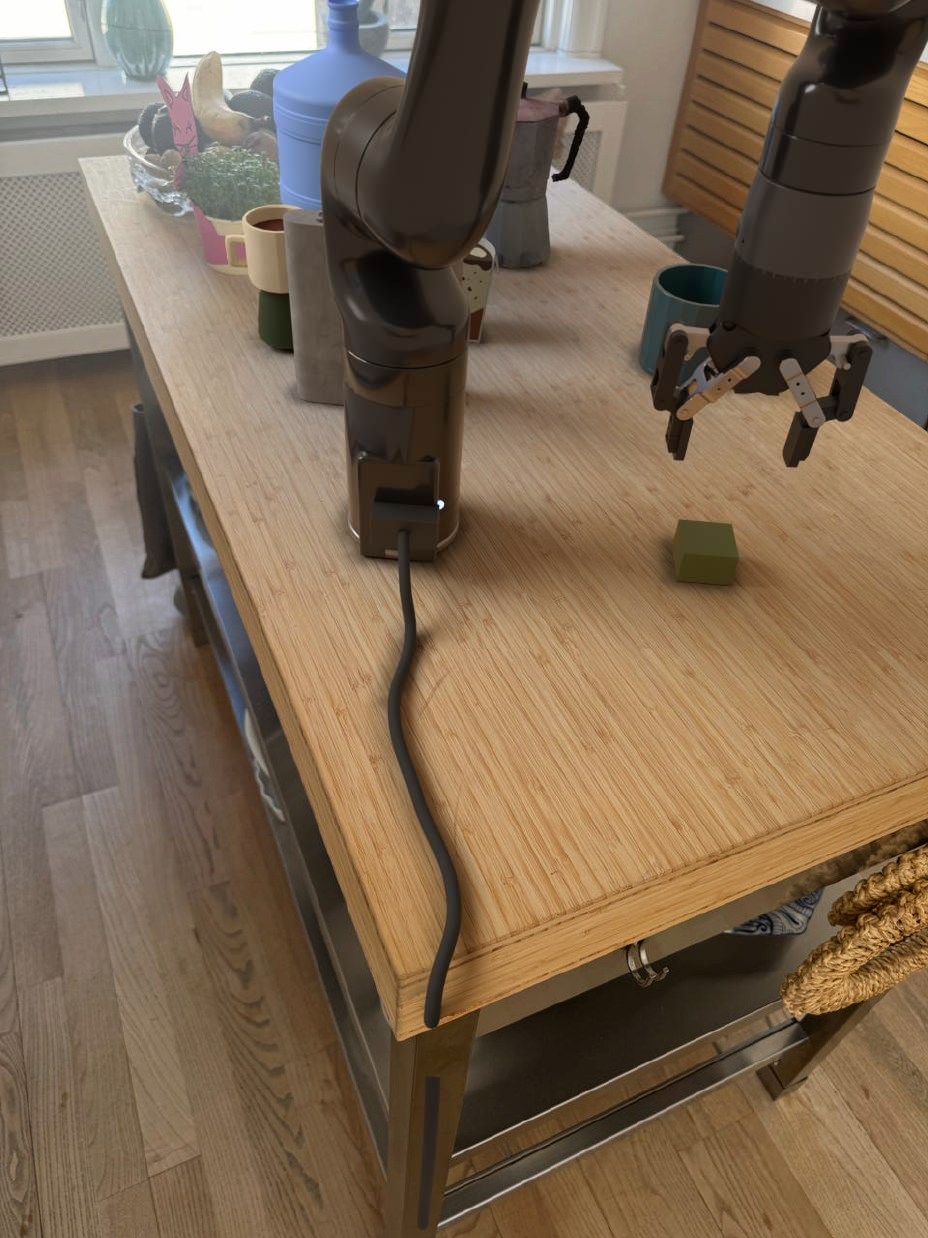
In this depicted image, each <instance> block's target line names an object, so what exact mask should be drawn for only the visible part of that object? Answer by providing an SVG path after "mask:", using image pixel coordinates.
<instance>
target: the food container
mask: <svg viewBox="0 0 928 1238" xmlns="http://www.w3.org/2000/svg"><path fill="white" fill-rule="evenodd" d="M494 267H495V268H496V273H497V275H499V274H500V270H499V267H500V266H498V259H497V255H496V253H495V249H494V247H493V245H492V244H491V243H490V242H489V241H488V240H486V239H484V238H483V237H482V239H481V240H480V241H479V243H478V244H477V245H476V247H475V248H474V249H473V250H472V251H471V252H470V253H469V254H468V255H467V256H466V257H465V258H463V276H462V289H463V291H464V293H465V295H466V297H467V300H468V303H469V306H470V337H469V343H475V344H481V343H480V342H481V337H482V332H483V327H484V322H485V316H486V310H487V305H488V301H489V294H490V289H491V285H492V279H493V274H494V273H493V272H494Z"/></svg>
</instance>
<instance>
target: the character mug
mask: <svg viewBox="0 0 928 1238" xmlns="http://www.w3.org/2000/svg"><path fill="white" fill-rule="evenodd" d="M295 209H302V208H299V207H296V206H290V205H282V204H269V205H262V206H259V207H254V208H253V209H251V210H249V211H246V212H245V213H244V215H243V216H242V218H241V219H242V220H241V221H242V222H241V224H242V229H243V230H242V232H243V234H236V233H235V234H234V233H233V234H231V233H230V234H226V235H225V238H224V243H225V250H226V259H227V263H228V265H229V266H230V267H233V268H247V274H248V278H249V280H250V282H251V284H252V285H253V286H254V287H256V288H257V289H259V292H258V312H257V314H258V316H257V321H258V322H257V323H258V324H257V325H258V326H257V327H258V328H257V329H258V330H257V331H258V335H259V338H260V339H261V340H262V341H263V342H264V343H266V344H267V345H269V346H271V347H274V348H277V349H292V350H294V346H293V334H292V321H291V309H290V297H289V285H288V272H287V260H286V248H285V236H284V223H283V215H284V214H285V213H286V212H288V211H290V210H295ZM236 245H244V251H245V257H239V256H238V255H237V248H236V247H237V246H236Z"/></svg>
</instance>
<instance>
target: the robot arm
mask: <svg viewBox="0 0 928 1238" xmlns="http://www.w3.org/2000/svg"><path fill="white" fill-rule="evenodd" d="M815 1H816V2H817V3H816V6H815V9H814V13H813V16H812V19H811V22H810V26H809V29H808V33H807V36H806V40H805V41H804V44H803V47H802V48H801V50H800V52H799V54H798V55H797V57H796V59H794V61H793V63H792V64H791V65H790V67H789V68H788V69H787V71H786V73H785V75H784V76H783V79H782V81H781V83H780V86H779V88H778V90H777V93H776V96H775V99H774V103H773V106H772V109H771V113H770V117H769V120H768V124H767V130H766V131H765V135H764V136H765V137H764V141H763V144H762V147H761V154H760V157H759V161H758V165H757V169H756V172H755V174H754V177H753V180H752V183H751V185H750V186H749V187H750V188H749V190H748V193H747V195H746V198H745V201H744V204H743V208H742V212H741V216H740V219H739V221H737V224H736V229H735V234H734V235H735V240H734V245H733V248H732V253H731V256H730V261H729V264H728V269H727V270H728V272H727V276H726V280H725V284H724V289H723V293H722V297H721V301H720V305H719V309H718V313H717V316H716V318H715V320H714V321H713V323H712V324H711V325H710V326H709V327H708V328H707V329H706V328H697V327H688V326H685V325H684V322H683V321H682V320H681V319H679V318H674V319H671V320H670V321H669V322H668V324H667V326H666V330H665V334H664V337H663V341H662V345H661V348H660V352H659V356H658V359H657V363H656V367H655V370H654V374H653V376H651V377H652V378H651V381H650V385H649V389H650V393H651V400H652V405H653V408H654V409H655V411H657V412H664V411H667V412H669V417H668V422H667V426H666V430H665V435H664V437H665V443H666V448H667V452H668V454H672V459H673V461H678V462H679V461H680V462H681V461H682V462H683V461H685V459H686V454H687V450H688V447H689V442H690V438H691V435H692V430H693V426H694V422H695V421H694V416H695V415H696V414H698V412H700V411H701V410H703V408H704V407H706V406H707V405H708V404H714V403H716V402H717V401H718V400H720V399H721V398H723V396H725V395H726V394H727V393H728V392H730V390H732V391H733V393H734V395H735V394H736V395H750V394H755V393H759V394H761V395H765V396H767V397H768V396H769V397H770V396H771V397H779V396H780V393H784V392H787V391H788V390H790V392H791V394H792V396H793V398H794V400H795V402H796V404H797V406H798V408H799V409H800V410H799V411H794V412H795V413H794V414H793V418H792V421H791V423H790V427H789V428H788V429H789V430H788V434H787V436H786V438H785V441H784V444H783V447H782V453H781V454H782V459H783V461H784V465H785V467H786V468H794V469H796V468H798V467H799V464H800V462H805V461H806V460H807V458H809V457H810V454H811V451H812V449H813V445H814V443H815V440H816V437H817V434H818V432H819V429H820V428H821V427H822V426H823V425H824V424H826V423H827V422H830V421H834V420H837V422H840V423H844V422H848V421H849V420H851V419H852V418H853V416H854V413H855V410H856V407H857V404H858V400H859V397H860V394H861V391H862V388H863V385H864V381H865V378H866V375H867V373H868V368H869V366H870V363H871V360H872V357H873V352H874V351H873V348H872V347H871V345H870V342H869V340H868V339H867V337H866V335H865V333H864V332H863V330H862V329H860V328H852V329H851V330H849V331H848V332H847V333H846V334H845V335H831V329H832V327H833V326H834V323H835V320H836V318H837V315H838V311H839V309H840V306H841V303H842V300H843V297H844V294H845V292H846V288H847V286H848V283H849V279H850V277H851V274H852V271H853V269H854V265H855V264H856V263H855V262H856V259H857V257H858V253H859V251H860V248H861V245H862V243H863V239H864V236H865V233H866V230H867V226H868V223H869V219H870V216H871V211H872V206H873V200H874V195H875V191H876V188H877V185H878V184H877V183H878V182H879V180H880V179H879V178H880V175H881V173H882V170H883V167H884V163H885V161H886V159H887V155H888V152H889V150H890V147H891V143H892V141H893V137H894V134H895V131H896V128H897V124H898V122H899V117H900V113H901V110H902V106H903V102H904V100H905V96H906V92H907V90H908V87H909V84H910V82H911V79H912V76H913V74H914V72H915V70H916V68H917V66H918V64H919V62H920V60H921V58H922V55H923V53H924V51H925V48H926V47H927V45H928V0H815ZM540 4H541V0H419V8H418V9H419V10H418V15H417V16H418V17H417V22H416V29H415V34H414V38H413V43H412V46H411V51H410V57H409V60H408V61H409V62H408V66H407V70H406V73H407V74H406V79H402V78H398V77H392V76H380V77H375V78H371V79H368V80H365V81H363V82H361V83H359V84H358V85H356V86H354V87H353V88H352V89H351V90H349V91H348V92H347V93H346V94H345V95H344V96H343V97H342V98H341V100H340V101H339V102H338V104H337V105H336V107H335V108H334V110H333V112H332V114H331V116H330V118H329V121H328V123H327V126H326V129H325V132H324V136H323V141H322V146H321V154H320V194H321V207H322V219H323V230H324V241H325V252H326V264H327V273H328V281H329V286H330V290H331V294H332V297H333V300H334V302H335V305H336V308H337V311H338V314H339V318H340V325H341V345H342V369H343V397H344V405H343V416H344V417H343V420H344V421H343V422H344V441H345V442H344V443H345V445H344V446H345V463H346V464H345V467H346V488H347V507H348V510H347V528H348V532H349V534H350V536H351V538H352V539H353V541H354V542H355V543H357V545H359V546H358V547H359V555H360V556H364V557H375V558H387V559H396V560H397V566H398V567H397V568H398V570H397V571H398V584H399V585H398V587H399V596H400V603H401V609H402V615H403V621H404V622H403V623H404V640H403V647H402V652H401V655H400V658H399V662H398V665H397V666H396V670H395V672H394V674H393V676H392V677H393V678H392V680H391V683H390V686H389V689H388V695H387V722H388V723H387V724H388V730H389V735H390V740H391V744H392V747H393V751H394V754H395V757H396V760H397V762H398V766H399V768H400V771H401V774H402V777H403V780H404V782H405V786H406V788H407V791H408V795H409V798H410V801H411V804H412V807H413V810H414V812H415V815H416V818H417V821H418V822H419V825H420V827H421V829H422V831H423V833H424V836H425V838H426V840H427V842H428V844H429V846H430V848H431V850H432V853H433V855H434V858H435V860H436V863H437V865H438V868H439V871H440V875H441V879H442V882H443V886H444V887H443V888H444V893H445V904H446V913H445V924H444V928H443V933H442V937H441V939H440V943H439V946H438V949H437V952H436V955H435V958H434V960H433V963H432V967H431V969H430V974H429V978H428V982H427V987H426V993H425V1000H424V1008H423V1009H424V1010H423V1024H424V1025H425V1026H426V1028H427V1029H431V1030H435V1028H437V1027H438V1026H439V1023H440V1021H441V1011H442V1002H443V994H444V988H445V983H446V979H447V976H448V972H449V969H450V966H451V962H452V960H453V956H454V953H455V950H456V948H457V944H458V941H459V940H458V939H459V936H460V931H461V925H462V915H463V906H462V905H463V903H462V896H461V895H462V894H461V887H460V883H459V877H458V875H457V871H456V867H455V865H454V862H453V858H452V857H451V854H450V852H449V849H448V847H447V845H446V843H445V841H444V839H443V837H442V834H441V833H440V830H439V829H438V826H437V824H436V822H435V820H434V818H433V816H432V814H431V811H430V809H429V805H428V803H427V799H426V797H425V794H424V791H423V788H422V785H421V783H420V780H419V777H418V774H417V771H416V768H415V766H414V763H413V760H412V757H411V755H410V752H409V749H408V745H407V743H406V738H405V735H404V734H405V733H404V730H403V723H402V716H401V698H402V693H403V687H404V684H405V681H406V679H407V676H408V674H409V671H410V668H411V666H412V662H413V658H414V655H415V651H416V645H417V644H416V643H417V618H416V611H415V605H414V600H413V592H412V578H411V561H420V562H421V561H422V562H435V561H436V559H437V558H436V557H437V554H438V553H439V552H441V551H443V550H444V549H446V548H447V547H448V546H449V545H450V544H452V542H453V541H454V540H455V539H456V537H457V535H458V533H459V529H460V512H459V511H460V496H461V495H460V493H461V477H462V476H461V475H462V460H463V445H464V430H465V429H464V427H465V413H466V411H465V410H466V397H467V396H466V395H467V379H468V370H469V369H468V368H469V350H470V342H469V337H470V306H469V303H468V300H467V297H466V295H465V293H464V291H463V289H462V287H461V285H460V283H459V282H458V280H457V277H456V275H455V273H454V271H453V268H452V265H454V264H456V263H457V262H459V261H460V260H462V259H463V258H465V257H466V256H467V255H468V254H469V253H470V252H471V251H472V250H473V249H474V248H475V247H476V245H477V244H478V243H479V241H480V240H481V239H482V237H483V236H484V234H485V233H486V231H487V229H488V227H489V225H490V223H491V221H492V219H493V217H494V215H495V212H496V209H497V207H498V204H499V201H500V198H501V194H502V191H503V187H504V183H505V178H506V174H507V169H508V164H509V159H510V154H511V148H512V142H513V137H514V131H515V126H516V120H517V114H518V108H519V103H520V97H521V92H522V86H523V81H524V79H525V75H526V69H527V65H528V59H529V54H530V49H531V44H532V39H533V34H534V30H535V25H536V21H537V16H538V14H539V13H538V12H539V8H540ZM524 82H525V81H524ZM701 347H706V349H707V352H708V354H709V356H710V357H708V358H707V359H706V360H705V361H704V362H703V363H702V364H700V365H699V366H698V367H697V368H696V370H695V371H694V374H693V376H692V377H691V378H689V379H688V380H687V381H686V382H685V383H684V384H683V385H681V386H678V388H677V385H676V384H677V381H678V377H679V374H680V370H681V367H682V364H683V360H685V361H688V360H690V358H692V357H693V355H694V353H695V352H696V350H698V349H699V348H701ZM830 355H831V356H832V360H833V363H834V365H835V366H836V368H835V372H834V374H833V378H832V382H831V385H830V388H829V392H828V395H824V396H820V397H817V394H816V392H815V390H814V389H813V387H812V384H811V382H810V380H809V378H808V376H807V375H809V374H810V373H812V371H813V370H815V368H817V367H819V366H820V365H821V364H822V363H823V362H824V361H826V359H827V358H828V357H829V356H830ZM718 373H719V375H718V376H717V377H716V378H715V376H716V375H717V374H718ZM714 378H715V379H714ZM440 1096H441V1077H440V1076H431V1075H424V1100H423V1102H424V1103H423V1106H424V1107H423V1132H422V1148H421V1149H422V1151H421V1167H420V1178H419V1190H418V1203H417V1204H418V1205H417V1216H416V1217H417V1219H416V1227H417V1228H418V1229H419V1230H422V1231H425V1230H427V1229H428V1227H429V1223H430V1212H431V1204H432V1202H431V1201H432V1193H433V1186H434V1177H435V1170H436V1169H435V1168H436V1160H437V1159H436V1157H437V1145H438V1133H439V1119H440V1118H439V1116H440V1098H441V1097H440Z"/></svg>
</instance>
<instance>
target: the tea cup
mask: <svg viewBox="0 0 928 1238" xmlns="http://www.w3.org/2000/svg"><path fill="white" fill-rule="evenodd" d="M727 272H728V269H725V268H722V267H718V266H715V265H709V264H704V263H691V262H690V263H688V262H687V263H675V264H671V265H667V266H663V267H662V268H660V269H659V270H657V271H656V273H655V274H654V276H653V278H652V283H651V288H650V293H649V298H648V301H647V302H648V303H647V307H646V313H645V317H644V322H643V328H642V332H641V337H640V343H639V347H638V354H637V360H638V364H639V366H640V367H641V369H642V370H643V371H644V372H646V374H648V375H649V376H651V377H653V374H654V370H655V367H656V363H657V359H658V356H659V352H660V348H661V345H662V341H663V337H664V334H665V330H666V326H667V324H668V322H669V321H670V320H671V319H674V318H679V319H681V320H682V321H683V322H684V325H685V326H688V327H697V328H706V329H707V328H708V327H709V326H710V325H711V324H712V323H713V321H714V320H715V318H716V316H717V313H718V309H719V305H720V301H721V297H722V293H723V289H724V284H725V280H726V276H727ZM708 357H710V356H709V354H708V352H707V349H706V347H701V348H699V349H698V350H696V352H695V353H694V355H693V357H692V358H690V360H688V361H685V360H683V364H682V367H681V370H680V374H679V377H678V381H677V384H676V387H677V386H678V387H680V386H681V385H683V384H684V383H685V382H686V381H687V380H688V379H689V378H691V377H692V376H693V374H694V371H695V370H696V368H697V367H698V366H699V365H700V364H702V363H703V362H704V361H705V360H706V359H707V358H708ZM718 375H719V373H718V374H717V375H716V376H715V378H716V377H717V376H718ZM715 378H714V379H715Z"/></svg>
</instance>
